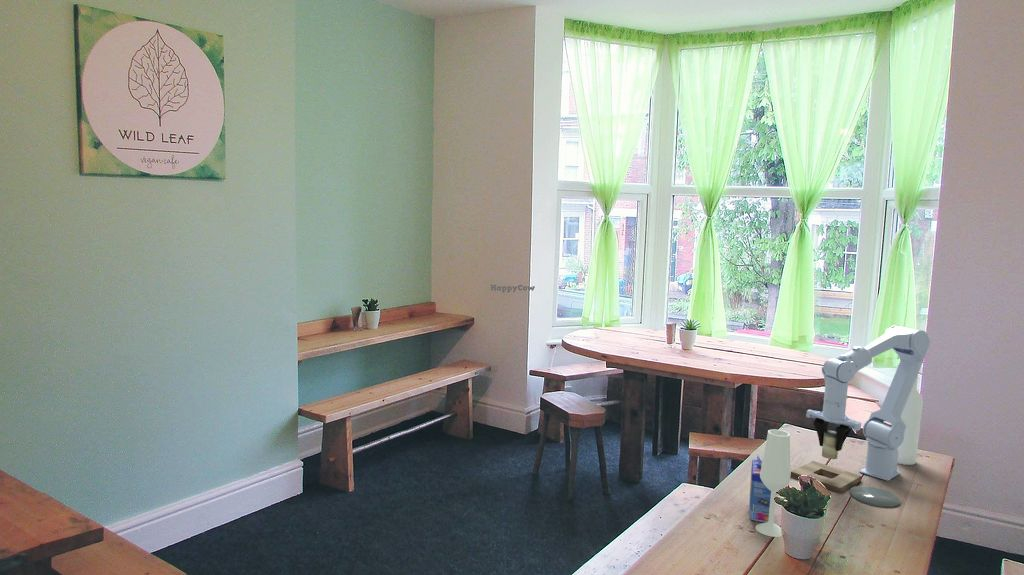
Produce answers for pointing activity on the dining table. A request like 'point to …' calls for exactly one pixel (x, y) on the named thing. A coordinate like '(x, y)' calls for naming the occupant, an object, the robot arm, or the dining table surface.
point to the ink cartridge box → (758, 495)
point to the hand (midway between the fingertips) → (830, 447)
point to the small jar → (829, 445)
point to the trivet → (874, 496)
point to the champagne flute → (775, 474)
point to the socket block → (837, 483)
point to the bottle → (911, 427)
